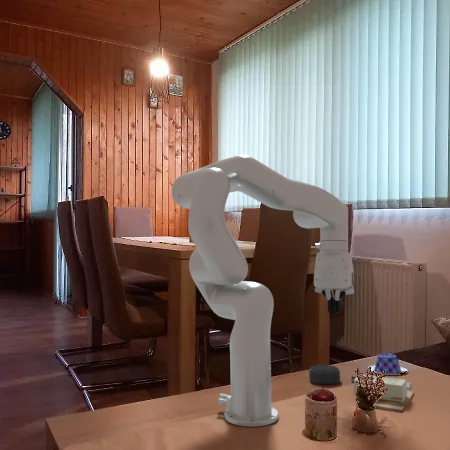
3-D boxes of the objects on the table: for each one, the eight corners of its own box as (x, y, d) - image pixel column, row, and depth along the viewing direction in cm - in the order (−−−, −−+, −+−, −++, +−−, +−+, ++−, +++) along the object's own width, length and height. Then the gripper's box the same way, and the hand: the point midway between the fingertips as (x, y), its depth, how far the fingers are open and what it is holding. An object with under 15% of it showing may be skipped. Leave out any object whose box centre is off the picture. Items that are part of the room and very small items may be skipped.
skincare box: (353, 396, 123) (402, 403, 117) (353, 379, 124) (402, 385, 117) (360, 389, 129) (407, 396, 122) (360, 373, 129) (407, 379, 123)
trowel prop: (350, 383, 137) (350, 377, 137) (352, 379, 141) (352, 373, 141) (410, 388, 131) (410, 382, 131) (410, 383, 136) (410, 377, 136)
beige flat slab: (356, 405, 118) (356, 402, 118) (371, 388, 132) (371, 386, 132) (402, 412, 113) (402, 409, 113) (413, 393, 126) (413, 391, 126)
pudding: (391, 379, 142) (390, 361, 142) (359, 370, 152) (359, 354, 152) (415, 372, 148) (415, 355, 149) (384, 365, 158) (383, 349, 159)
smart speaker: (303, 380, 141) (302, 367, 141) (324, 376, 146) (324, 362, 146) (324, 387, 134) (324, 373, 134) (346, 382, 139) (346, 368, 139)
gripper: (303, 247, 131) (303, 314, 130) (357, 247, 123) (357, 318, 122) (313, 248, 138) (312, 311, 136) (365, 248, 130) (365, 315, 129)
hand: (334, 314), depth 129 cm, fingers closed
